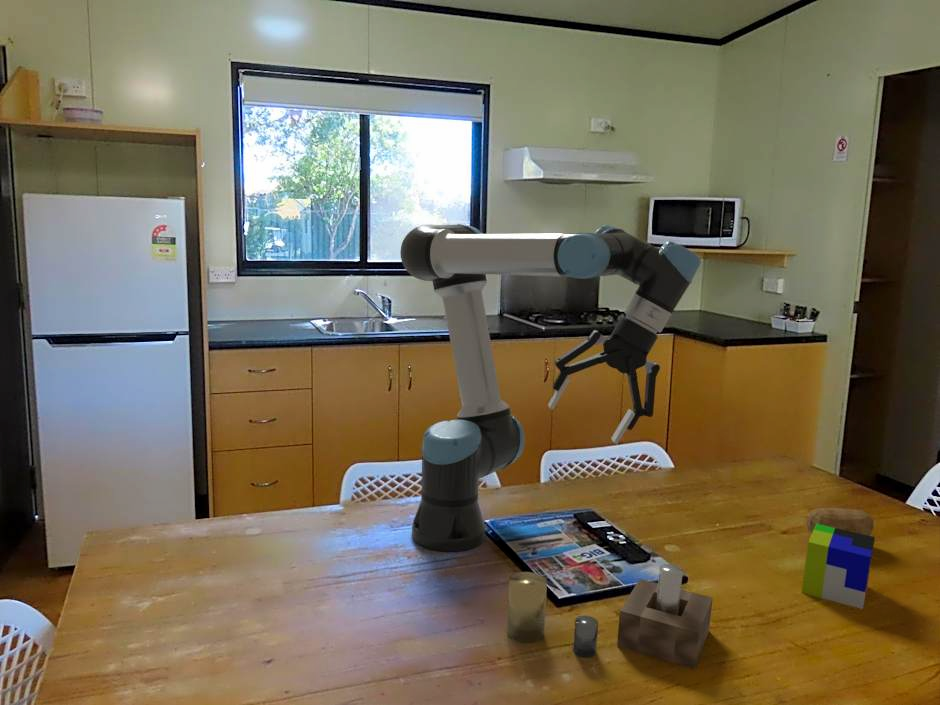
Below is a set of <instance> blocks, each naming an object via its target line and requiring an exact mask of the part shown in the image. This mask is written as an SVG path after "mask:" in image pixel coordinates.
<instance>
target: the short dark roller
mask: <svg viewBox="0 0 940 705" xmlns="http://www.w3.org/2000/svg"><path fill="white" fill-rule="evenodd" d="M598 629H599V621H598V620H597V619H596V618H595V617H593V616H591V615H579V616H577V617H575V620H574V632H573V647H572V648H573V649H572V651H573V653H574V655H576V656H578V657H580V658H584V659H587V658H589V659H591V658H593V657H594V656H596V654H597V645H598V644H597V643H598Z"/></svg>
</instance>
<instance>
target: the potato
mask: <svg viewBox="0 0 940 705" xmlns="http://www.w3.org/2000/svg"><path fill="white" fill-rule="evenodd" d="M816 524H820V525H824V526H829V527H833V528H837V529H842V530H846V531H850V532H855V533H859V534H863V535H868V536H871V534H872V533H873V531H874V528H875V527H874V526H875V523H874V519H873V517H872V516H871V515H870V514H868V513H866V512H865V511H862V510H859V509H856V508H855V509H853V508H851V509H849V508H840V507H828V508H827V507H825V508H823V507H820V508H815V509H812V510H811V511H810V512H809V513H808V515H807V518H806V526H807V530H808V532H810V535H811V534H812V532H813V530H814V527H815V525H816Z"/></svg>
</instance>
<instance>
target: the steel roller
mask: <svg viewBox="0 0 940 705" xmlns="http://www.w3.org/2000/svg"><path fill="white" fill-rule="evenodd" d="M658 573H659V574H658V581H657V583H658V592H657V603H656V610H658V611H662V612H666V613H669V614H673V615H677V616H678V613H679V603H680V593H681V589H682V581H683V573H684V572H683V568H681V567H680V566H678V565H676V564H672V563H664V564H661V565H660V567H659V572H658Z"/></svg>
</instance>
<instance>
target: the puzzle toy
mask: <svg viewBox="0 0 940 705" xmlns="http://www.w3.org/2000/svg"><path fill="white" fill-rule="evenodd" d="M874 545H875V536H871V535H869V536H868V535H863V534H859V533H855V532H850V531H846V530H842V529H837V528H833V527H829V526H824V525H820V524H816V525H815V527H814V530H813V532H812V534H811V533H810V536H809V539H808V542H807V549H806V556H805V557H806V558H805V565H804V571H803V572H804V573H803V580H802V587H801V593H802V594H805V593H806V595H809V596H812V595H813V597H817V598H819V599H823V600H827V601H830V600H831V602H834V601H835V602H834V603H837V604H841V605H842V604H843V605H845V604H846V606H848V605H850V606H849V607H852V606H853V608H856V607H857V609H859V608H860V610H863V609H864V605H865V601H866V600H865V599H866V595H867V592H868V591H867V589H868V585H869V578H870V572H871V565H872V559H873V551H874Z"/></svg>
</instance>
